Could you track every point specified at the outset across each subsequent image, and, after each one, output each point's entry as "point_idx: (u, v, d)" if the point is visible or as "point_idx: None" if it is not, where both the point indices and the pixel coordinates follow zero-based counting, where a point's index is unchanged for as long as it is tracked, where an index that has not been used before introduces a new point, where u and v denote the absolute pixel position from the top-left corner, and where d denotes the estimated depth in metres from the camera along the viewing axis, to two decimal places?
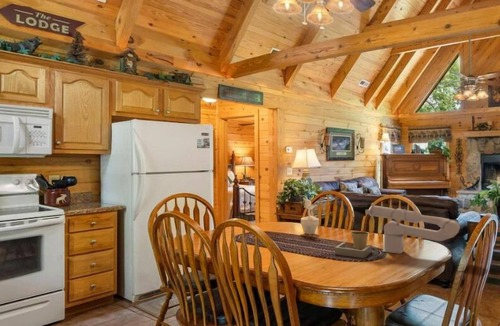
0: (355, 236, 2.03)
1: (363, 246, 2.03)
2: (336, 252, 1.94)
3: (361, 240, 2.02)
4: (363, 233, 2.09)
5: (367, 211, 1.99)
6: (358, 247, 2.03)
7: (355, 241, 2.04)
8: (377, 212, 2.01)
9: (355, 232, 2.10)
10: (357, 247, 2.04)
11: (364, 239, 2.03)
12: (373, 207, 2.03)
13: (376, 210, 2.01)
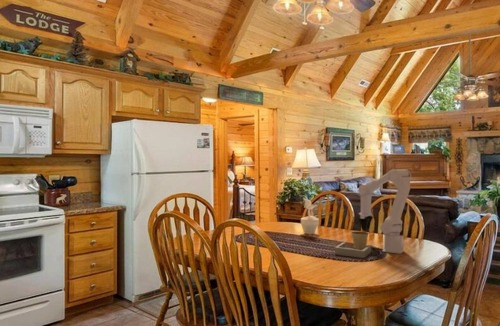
0: (355, 236, 2.03)
1: (363, 246, 2.03)
2: (336, 252, 1.94)
3: (361, 240, 2.02)
4: (363, 233, 2.09)
5: (361, 216, 2.10)
6: (358, 247, 2.03)
7: (355, 241, 2.04)
8: (364, 208, 2.14)
9: (355, 232, 2.10)
10: (357, 247, 2.04)
11: (364, 239, 2.03)
12: (361, 212, 2.15)
13: (363, 209, 2.14)
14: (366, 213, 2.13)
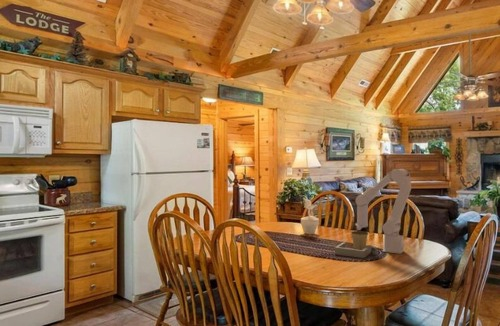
0: (355, 236, 2.03)
1: (363, 246, 2.03)
2: (336, 252, 1.94)
3: (361, 240, 2.02)
4: (362, 233, 2.09)
5: (357, 228, 2.05)
6: (358, 247, 2.03)
7: (355, 241, 2.04)
8: (361, 219, 2.08)
9: (354, 232, 2.10)
10: (357, 247, 2.04)
11: (364, 239, 2.03)
12: (357, 223, 2.10)
13: (359, 219, 2.09)
14: (362, 224, 2.08)
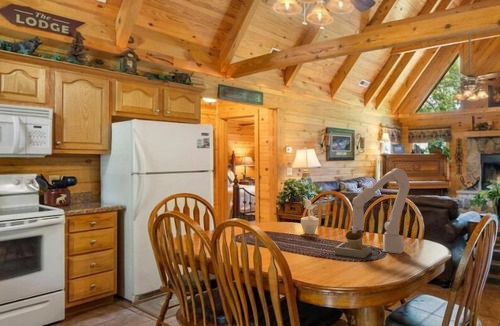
0: (350, 241, 1.96)
1: (360, 248, 1.98)
2: (336, 252, 1.94)
3: (357, 244, 1.96)
4: (357, 231, 2.01)
5: (353, 230, 1.98)
6: None
7: (351, 245, 1.98)
8: (356, 222, 2.01)
9: (349, 232, 2.02)
10: None
11: (360, 242, 1.96)
12: (353, 225, 2.03)
13: (355, 222, 2.01)
14: (358, 227, 2.01)
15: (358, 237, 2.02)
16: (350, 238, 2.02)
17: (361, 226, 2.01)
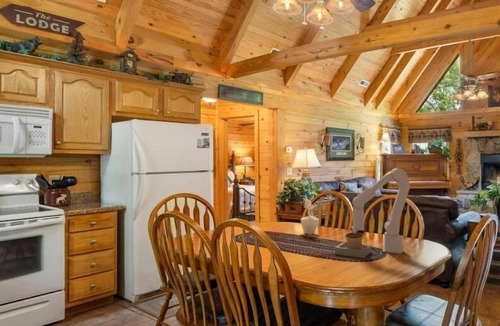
0: (350, 240, 1.95)
1: (359, 249, 1.96)
2: (336, 252, 1.94)
3: (357, 244, 1.94)
4: (357, 234, 2.01)
5: (353, 231, 1.98)
6: None
7: (350, 245, 1.96)
8: (357, 222, 2.01)
9: (349, 234, 2.02)
10: None
11: (359, 242, 1.95)
12: (353, 226, 2.03)
13: (355, 222, 2.02)
14: (358, 227, 2.01)
15: None
16: None
17: (361, 226, 2.01)
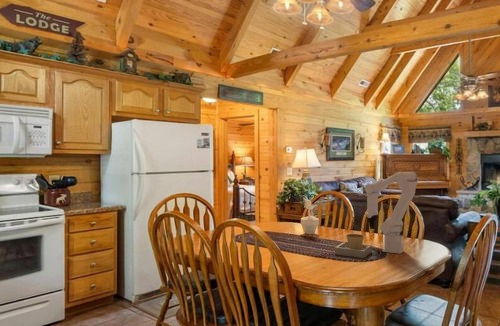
0: (351, 239, 1.96)
1: (359, 249, 1.96)
2: (336, 252, 1.94)
3: (357, 243, 1.95)
4: (358, 236, 2.02)
5: (368, 215, 2.07)
6: None
7: (351, 244, 1.96)
8: (371, 207, 2.11)
9: (350, 235, 2.03)
10: None
11: (360, 242, 1.96)
12: (367, 211, 2.12)
13: (370, 207, 2.11)
14: (373, 212, 2.10)
15: None
16: None
17: (375, 211, 2.10)
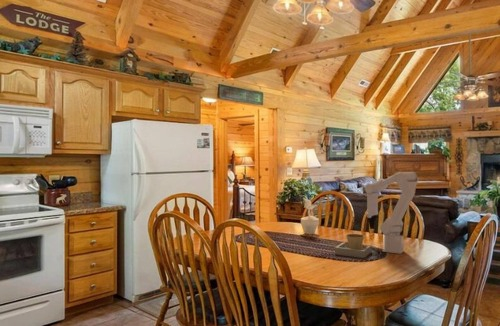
0: (351, 239, 1.96)
1: (359, 249, 1.96)
2: (336, 252, 1.94)
3: (357, 243, 1.95)
4: (358, 236, 2.02)
5: (368, 215, 2.07)
6: None
7: (351, 244, 1.96)
8: (371, 207, 2.11)
9: (350, 235, 2.03)
10: None
11: (360, 242, 1.96)
12: (367, 211, 2.12)
13: (370, 207, 2.11)
14: (373, 212, 2.10)
15: None
16: None
17: (375, 211, 2.10)
